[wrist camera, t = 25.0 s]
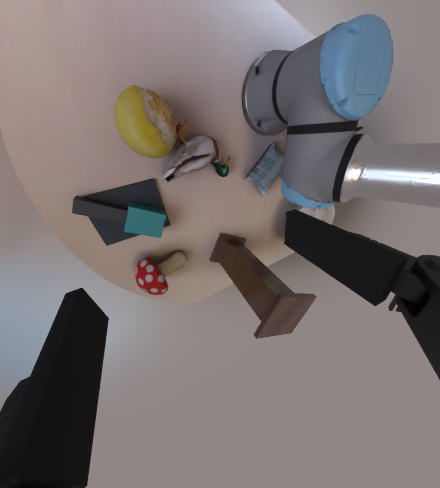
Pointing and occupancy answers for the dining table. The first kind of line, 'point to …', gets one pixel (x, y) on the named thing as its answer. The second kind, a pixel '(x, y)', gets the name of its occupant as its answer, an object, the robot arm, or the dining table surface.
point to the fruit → (145, 122)
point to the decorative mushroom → (157, 273)
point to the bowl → (318, 213)
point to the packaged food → (266, 169)
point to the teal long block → (124, 215)
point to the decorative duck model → (194, 156)
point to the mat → (122, 196)
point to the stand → (261, 288)
